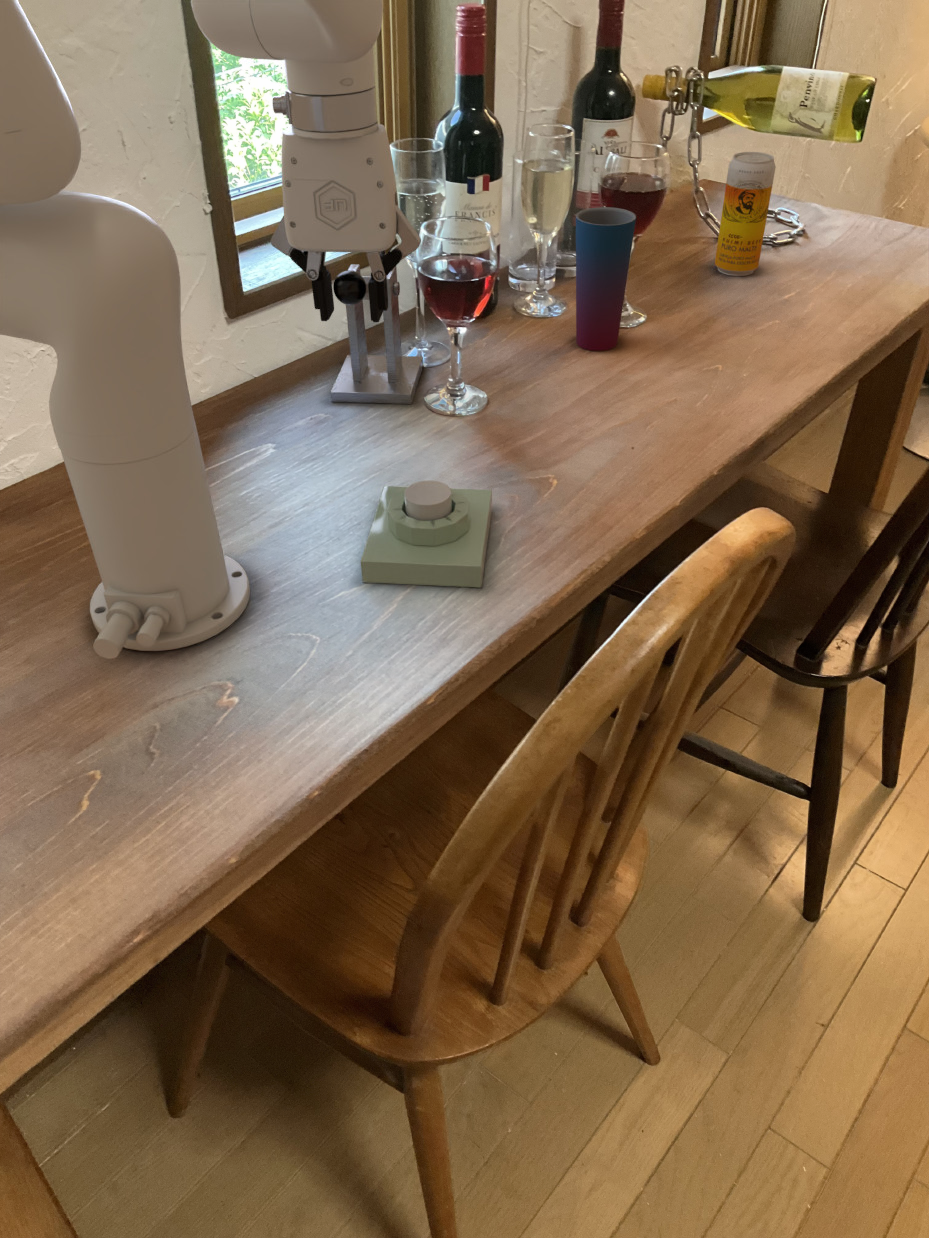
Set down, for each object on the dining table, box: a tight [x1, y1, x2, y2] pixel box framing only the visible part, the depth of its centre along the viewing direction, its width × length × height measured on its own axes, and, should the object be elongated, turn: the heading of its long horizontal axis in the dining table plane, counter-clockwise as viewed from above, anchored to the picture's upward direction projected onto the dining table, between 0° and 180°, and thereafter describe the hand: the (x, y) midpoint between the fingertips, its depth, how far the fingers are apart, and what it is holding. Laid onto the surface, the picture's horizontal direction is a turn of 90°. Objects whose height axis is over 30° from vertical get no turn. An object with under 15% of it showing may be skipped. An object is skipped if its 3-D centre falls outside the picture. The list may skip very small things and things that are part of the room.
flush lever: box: [332, 269, 371, 306], centre depth 98 cm, size 14×3×3 cm, turn 174°
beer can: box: [714, 151, 777, 277], centre depth 133 cm, size 6×6×15 cm
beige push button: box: [404, 480, 452, 521], centre depth 82 cm, size 4×4×2 cm
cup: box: [575, 206, 637, 352], centre depth 113 cm, size 7×7×15 cm
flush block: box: [360, 485, 493, 588], centre depth 83 cm, size 12×10×4 cm
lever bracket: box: [330, 263, 424, 405], centre depth 106 cm, size 10×9×13 cm
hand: (352, 314), depth 95 cm, fingers open, 4 cm apart
